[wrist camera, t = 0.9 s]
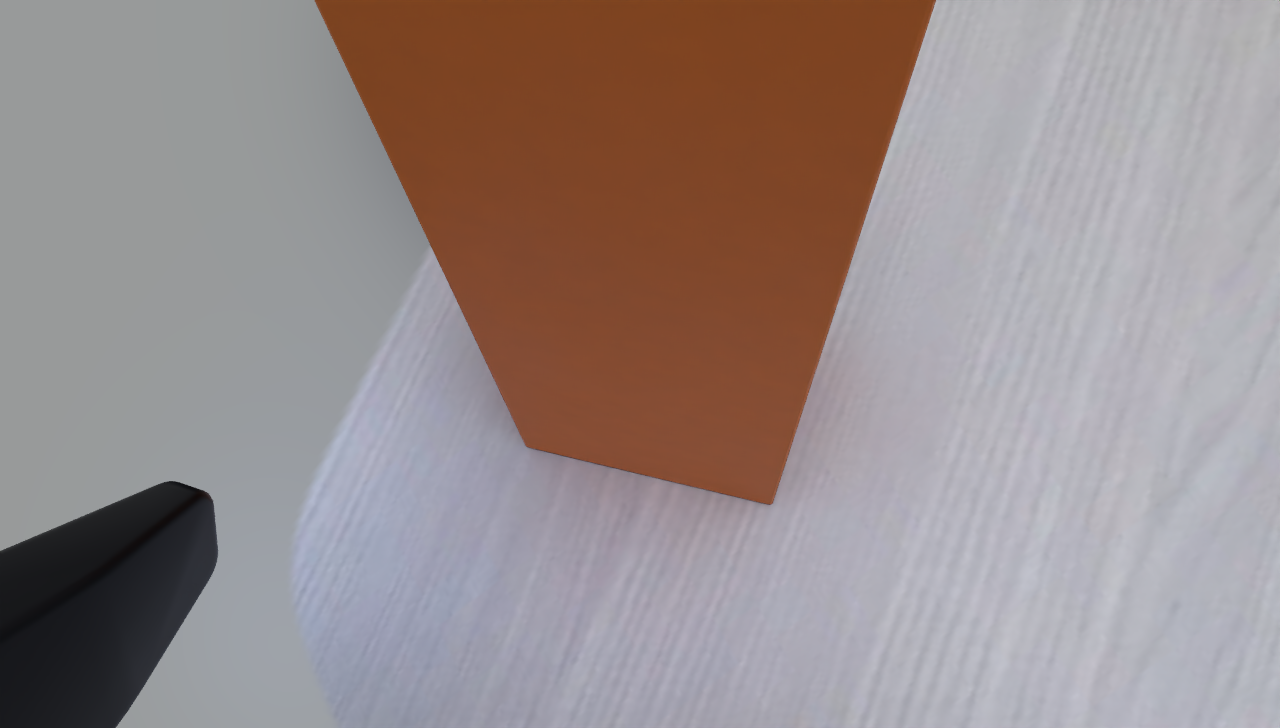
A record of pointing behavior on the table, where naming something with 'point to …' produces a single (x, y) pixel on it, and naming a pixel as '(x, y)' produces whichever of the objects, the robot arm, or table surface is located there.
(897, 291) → the table surface
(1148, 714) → the table surface
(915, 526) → the table surface
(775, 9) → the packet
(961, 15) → the table surface
